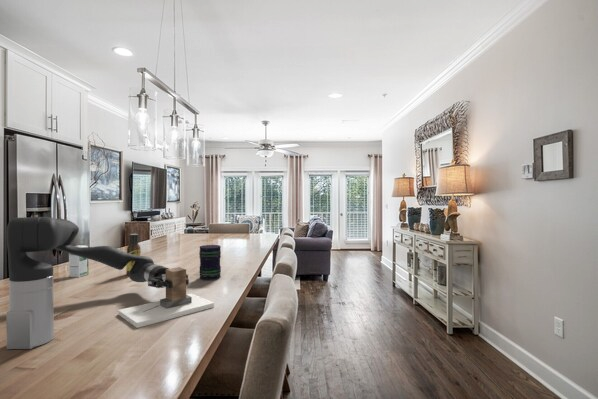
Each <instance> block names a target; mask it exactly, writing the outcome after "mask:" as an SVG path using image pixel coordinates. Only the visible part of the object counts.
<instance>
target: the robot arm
mask: <svg viewBox="0 0 598 399" xmlns="http://www.w3.org/2000/svg"><path fill="white" fill-rule="evenodd" d="M79 230H80V228H79V227H78V225H77V224H76V223H75V222H74V221H71V220H68V219H66V218H54V217H49V216H36V217H35V216H34V217H33V216H29V217H27V216H26V217H13V218H11V220H9V222H8V224H7V227H6V245H7V256H8V264H7V265H8V276H9V277H8V281H9V282H8V286H9V287H8V288H9V289H8V291H9V294H8V295H9V296H8V297H9V298H8V300H9V301H8V303H9V305H8V306H9V310H8V311H6V316H5V319H6V322H5V323H6V350H31V349H33V348H35V347H39V346H42V345H44V344H48V343H49V342H51V341H52V340H53V339H54V338H55V334H54V333H55V332H54V331H55V329H54V328H55V324H54V322H55V321H54V320H55V317H54V313H55V311H54V310H55V308H54V267H53V266H54V265H52V264H50V263H48V262H43V261H38V260H35V259H33V258H32V257H30V256H28V254H27V253H38V252H47V251H52V250H57V251H60V252H64V253H66V254H68V255H69V254H73V255H76V256H80V257H83V258H87V259H88V260H90V261H91V260H92V261H94V262H98V263H100V264H103V265H105V266H108V267H110V268H114V269H116V270H119V271H122V270H124V268H126V265H127V264H128V263H129V262H130V261H135V263H134V264H133V266H132V268H131V270H130V272H129V275H128V277H129V279H130V280H131V281H133V282H135V283H145V282H147V286H148V287H152V288H156V289H160V288H161V289H162V288H166V287H168V288H170V289H171V288H173V282H171V281H169V280H167V279H166V269H170V268H169V267H167V266H164V265H161V264H155V261H154V260H153V258H151V257H150V256H145V255H140V256H138V255H132V254H128V253H127V251H126V252H125V251H123V250H120V249H118V248H116V247H113V246H108V245H99V246H97V245H96V246H88V247H85V248H83V247H75V246H76V245H72V243H73V241H74V240H75V238H76V237H77V235H79V234H78V233H79ZM189 284H190V280H189V275H188V274H187V273H186V286H188V285H189Z"/></svg>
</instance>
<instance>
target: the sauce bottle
mask: <svg viewBox="0 0 598 399" xmlns="http://www.w3.org/2000/svg"><path fill="white" fill-rule="evenodd" d="M139 236H140V235H139V233H130V234H129V244H128V246H127V247H126V253H128V254H132V255H138V256H141V246H140V244H139ZM134 263H135V261H130V262H129V263H128V264H127V265H126V266H125V268H126V269H125V271H126V272H125V273H126V275H128V276H129V272H130V270H131V268H132V266H133V264H134Z"/></svg>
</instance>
